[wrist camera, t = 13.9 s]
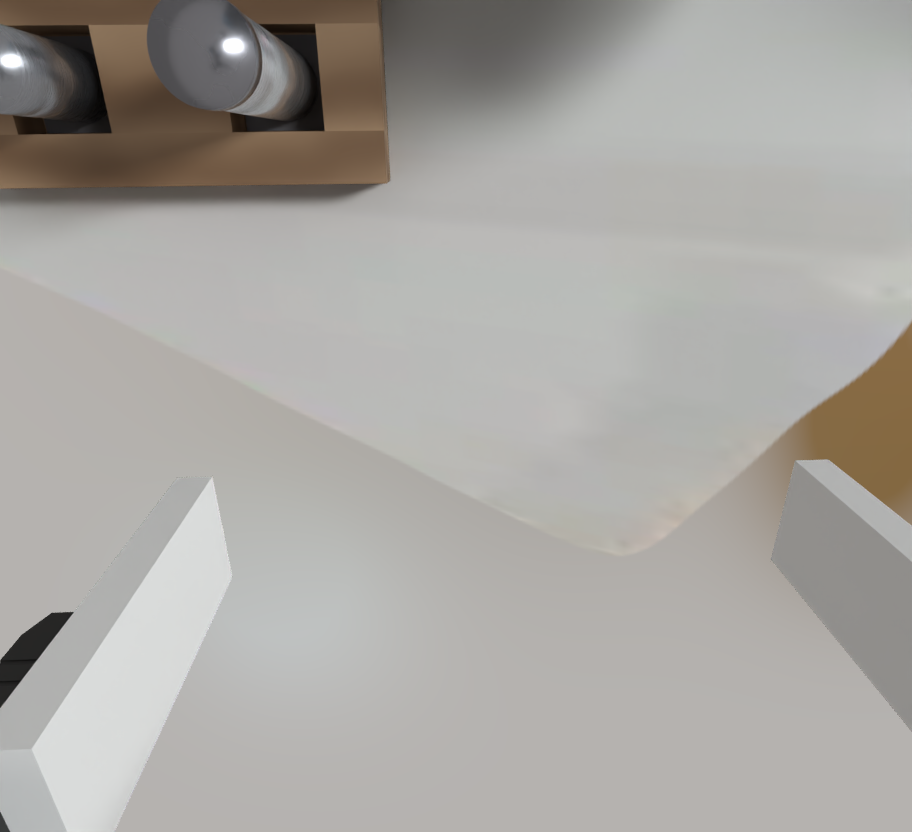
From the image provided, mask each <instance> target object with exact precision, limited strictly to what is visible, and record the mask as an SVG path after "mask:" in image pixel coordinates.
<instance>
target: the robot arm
mask: <svg viewBox="0 0 912 832" xmlns="http://www.w3.org/2000/svg"><path fill="white" fill-rule="evenodd" d="M771 560H772V561H773V563H774V564H775V565H776V566H777V568H778V569H779V570H780V571H781V572H782V574H783V575H784V576H785V577H786V578H787V580H788V581H789V582H790V583H791V585H792V586H793V587H794V588H795V590H796V591H797V592H798V593H799V594H800V596H801V597H802V598H803V599H804V600H805V602H806V603H807V604H808V605H809V607H810V608H811V609H812V610H813V612H814V613H815V614H816V615H817V616H818V618H819V619H820V620H821V621H822V622H823V624H824V625H825V626H826V627H827V629H828V630H829V631H830V632H831V633H832V635H833V636H834V637H835V638H836V640H837V641H838V642H839V643H840V644H841V646H842V647H843V648H844V649H845V651H846V652H847V653H848V654H849V655H850V657H851V658H852V659H853V660H854V661H855V663H856V664H857V665H858V666H859V667H860V669H861V670H862V671H863V673H864V674H865V675H866V676H867V677H868V679H869V680H870V681H871V682H872V683H873V685H874V686H875V687H876V688H877V690H878V691H879V692H880V693H881V694H882V696H883V697H884V698H885V699H886V701H887V702H888V703H889V704H890V706H891V707H892V708H893V709H894V710H895V712H896V713H897V714H898V715H899V717H900V718H901V719H902V720H903V721H904V723H905V724H906V725H907V726H908V728H909V729H910V730H911V731H912V526H911V525H910V524H909V523H907V522H906V521H905V520H904V519H902V518H901V517H900V516H899V515H897V514H896V513H895V512H894V511H892V510H891V509H890V508H888V507H887V506H886V505H885V504H884V503H882V502H881V501H880V500H879V499H877V498H876V497H875V496H873V495H872V494H871V493H870V492H868V491H867V490H866V489H865V488H863V487H862V486H861V485H860V484H858V483H857V482H856V481H854V480H853V479H852V478H851V477H849V476H848V475H847V474H846V473H844V472H843V471H842V470H841V469H839V468H838V467H837V466H836V465H834V464H833V463H832V462H831V461H829V460H799V461H795V464H794V468H793V472H792V476H791V480H790V485H789V488H788V492H787V497H786V501H785V504H784V508H783V512H782V516H781V521H780V525H779V529H778V533H777V537H776V541H775V545H774V549H773V553H772V557H771ZM231 578H232V573H231V568H230V563H229V558H228V552H227V548H226V542H225V537H224V533H223V527H222V523H221V518H220V512H219V508H218V502H217V497H216V493H215V488H214V483H213V478H212V477H178V478H177V479H176V480H175V481H174V482H173V484H172V485H171V486H170V488H169V489H168V490H167V492H166V493H165V494H164V495H163V497H162V498H161V499H160V501H159V502H158V503H157V505H156V506H155V507H154V508H153V510H152V511H151V512H150V514H149V515H148V516H147V518H146V519H145V520H144V522H143V523H142V524H141V525H140V527H139V528H138V529H137V531H136V532H135V533H134V535H133V536H132V537H131V539H130V540H129V541H128V542H127V544H126V545H125V546H124V548H123V549H122V550H121V552H120V553H119V554H118V555H117V557H116V558H115V559H114V561H113V562H112V563H111V565H110V566H109V567H108V569H107V570H106V571H105V572H104V574H103V575H102V576H101V578H100V579H99V580H98V582H97V583H96V584H95V585H94V587H93V588H92V589H91V591H90V592H89V593H88V595H87V596H86V597H85V598H84V600H83V601H82V602H81V604H80V605H79V606H78V608H77V609H76V610H75V611H74V612H63V613H51V614H50V615H48V616H47V617H45V618H44V619H43V620H42V621H40V622H39V623H37V624H36V625H35V626H33V627H32V628H30V629H29V630H28V631H26V632H25V633H24V634H22V635H21V636H20V637H19V639H18V640H17V641H16V642H15V643H14V645H13V646H12V647H11V648H10V649H9V651H8V652H7V653H6V654H5V656H4V657H3V658H2V659H1V660H0V832H115V829H116V827H117V825H118V823H119V821H120V819H121V816H122V814H123V812H124V810H125V808H126V806H127V803H128V801H129V799H130V797H131V795H132V793H133V791H134V788H135V786H136V784H137V782H138V780H139V777H140V775H141V773H142V771H143V769H144V767H145V765H146V762H147V760H148V758H149V756H150V754H151V752H152V749H153V747H154V745H155V743H156V741H157V738H158V736H159V734H160V732H161V730H162V728H163V726H164V723H165V721H166V719H167V717H168V715H169V713H170V711H171V708H172V706H173V704H174V701H175V700H176V697H177V695H178V693H179V691H180V689H181V687H182V685H183V682H184V680H185V678H186V676H187V674H188V672H189V669H190V667H191V665H192V663H193V660H194V658H195V657H196V654H197V652H198V650H199V648H200V646H201V643H202V641H203V639H204V637H205V635H206V633H207V631H208V628H209V626H210V624H211V622H212V620H213V618H214V615H215V613H216V611H217V609H218V607H219V605H220V602H221V600H222V598H223V596H224V594H225V592H226V590H227V587H228V585H229V583H230V581H231Z"/></svg>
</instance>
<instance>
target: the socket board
mask: <svg viewBox="0 0 912 832" xmlns="http://www.w3.org/2000/svg"><path fill="white" fill-rule="evenodd" d="M227 1H229V2H230V3H231V4H233V5H234V6H236V7H237V8H238V9H239V10H240V11H241V12H242V13H243V14H244V15H246V16H247V17H249V18H250V19H252V20H253V21H254V22H256V23H257V24H259V25H260V26H262V27H263V28H264V29H266V30H267V31H269V32H270V33H272V34H273V35H274V36H276V37H277V38H279V39H280V40H282V41H283V42H284V43H286V44H287V45H289V46H290V47H291V48H293V49H294V50H296V51H297V52H299V53H300V54H301V55H302V56H304V57H305V58H306V60H307V61H308V62H309V63H310V65H311V67H312V69H313V71H314V73H315V76H316V80H317V96H316V100H315V103H314V105H313V107H312V108H311V110H310V111H309V112H308V113H307V114H306V115H305V116H304V117H302V118H300V119H298V120H294V121H280V120H274V119H268V118H262V117H256V116H250V115H244V114H238V113H232V112H226V111H211V110H205V109H200V108H196V107H193V106H190V105H188V104H186V103H184V102H182V101H181V100H179V99H178V98H176V97H175V96H174V95H173V94H172V93H171V92H170V91H169V90H168V89H167V88H166V87H165V86H164V85H163V83H162V82H161V81H160V79H159V78H158V76H157V75H156V73H155V70H154V68H153V66H152V64H151V61H150V58H149V54H148V48H147V28H148V23H149V19H150V17H151V14H152V12H153V10H154V8H155V7H156V5H157V4H158V3H159V2H160V0H0V24H3V25H6V26H9V27H12V28H15V29H19V30H22V31H25V32H28V33H31V34H34V35H38V36H41V37H44V38H47V39H50V40H53V41H57V42H60V43H63V44H66V45H69V46H72V47H76V48H79V49H82V50H84V51H86V52H88V53H90V54H91V55H93V56H94V57H95V58H96V62H97V67H98V72H99V76H100V81H101V85H102V90H103V94H104V99H105V103H106V108H107V114H106V115H105V116H104V117H102V118H101V119H99V120H98V121H95V122H90V123H82V122H72V121H63V120H53V119H44V118H34V117H25V116H15V115H6V114H0V189H9V188H82V187H154V186H227V185H299V184H372V183H388V182H389V181H390V166H389V147H388V127H387V108H386V89H385V69H384V50H383V31H382V11H381V0H227Z"/></svg>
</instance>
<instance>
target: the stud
mask: <svg viewBox="0 0 912 832" xmlns="http://www.w3.org/2000/svg"><path fill="white" fill-rule="evenodd" d="M147 48H148V54H149V58H150V61H151V64H152V66H153V68H154V70H155V73H156V75H157V76H158V78H159V79H160V81H161V82H162V83H163V85H164V86H165V87H166V88H167V89H168V90H169V91H170V92H171V93H172V94H173V95H174V96H175V97H176V98H178V99H179V100H181V101H182V102H184V103H186V104H188V105H190V106H193V107H196V108H200V109H205V110H211V111H226V112H232V113H238V114H244V115H250V116H256V117H262V118H268V119H274V120H280V121H294V120H298V119H300V118H302V117H304V116H305V115H306V114H307V113H308V112H309V111H310V110H311V108H312V107H313V105H314V103H315V100H316V96H317V80H316V76H315V73H314V71H313V69H312V67H311V65H310V63H309V62H308V61H307V60H306V58H305V57H304V56H302V55H301V54H300V53H299V52H297V51H296V50H294V49H293V48H291V47H290V46H289V45H287V44H286V43H284V42H283V41H282V40H280V39H279V38H277V37H276V36H274V35H273V34H272V33H270V32H269V31H267V30H266V29H264V28H263V27H262V26H260V25H259V24H257V23H256V22H254V21H253V20H252V19H250V18H249V17H247V16H246V15H244V14H243V13H242V12H241V11H240V10H239V9H238V8H237V7H236V6H234V5H233V4H231V3H230V2H229V1H227V0H160V2H159V3H158V4H157V5H156V7H155V8H154V10H153V12H152V14H151V17H150V19H149V23H148V28H147Z"/></svg>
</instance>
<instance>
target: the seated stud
mask: <svg viewBox="0 0 912 832" xmlns="http://www.w3.org/2000/svg"><path fill="white" fill-rule="evenodd" d="M0 114H6V115H15V116H25V117H34V118H44V119H53V120H63V121H72V122H82V123H90V122H95V121H98V120H99V119H101V118H102V117H104V116H105V115H106V114H107V108H106V103H105V99H104V94H103V90H102V85H101V81H100V76H99V72H98V67H97V62H96V58H95V57H94V56H93V55H91V54H90V53H88V52H86V51H84V50H82V49H79V48H76V47H72V46H69V45H66V44H63V43H60V42H57V41H53V40H50V39H47V38H44V37H41V36H38V35H34V34H31V33H28V32H25V31H22V30H19V29H15V28H12V27H9V26H6V25H3V24H0Z"/></svg>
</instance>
